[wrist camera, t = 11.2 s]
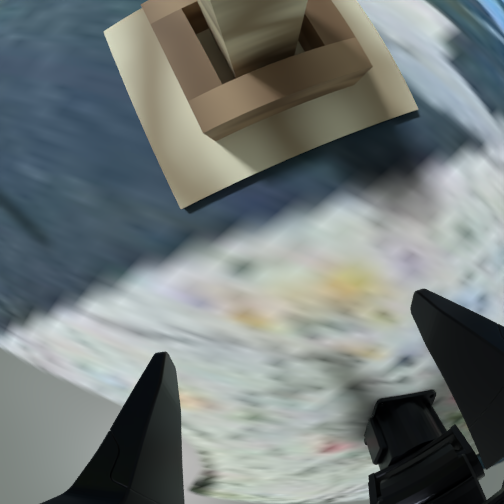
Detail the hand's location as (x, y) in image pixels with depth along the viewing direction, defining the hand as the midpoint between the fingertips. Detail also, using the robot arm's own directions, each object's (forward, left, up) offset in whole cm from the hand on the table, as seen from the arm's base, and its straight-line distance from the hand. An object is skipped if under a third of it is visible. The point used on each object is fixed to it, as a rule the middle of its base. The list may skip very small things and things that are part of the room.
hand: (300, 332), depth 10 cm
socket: (+2, -14, -11) cm, 18 cm away
